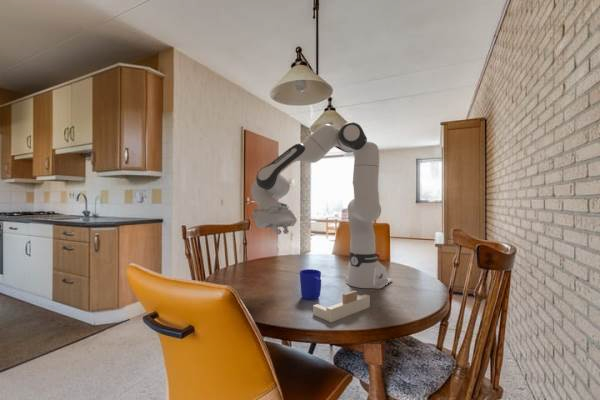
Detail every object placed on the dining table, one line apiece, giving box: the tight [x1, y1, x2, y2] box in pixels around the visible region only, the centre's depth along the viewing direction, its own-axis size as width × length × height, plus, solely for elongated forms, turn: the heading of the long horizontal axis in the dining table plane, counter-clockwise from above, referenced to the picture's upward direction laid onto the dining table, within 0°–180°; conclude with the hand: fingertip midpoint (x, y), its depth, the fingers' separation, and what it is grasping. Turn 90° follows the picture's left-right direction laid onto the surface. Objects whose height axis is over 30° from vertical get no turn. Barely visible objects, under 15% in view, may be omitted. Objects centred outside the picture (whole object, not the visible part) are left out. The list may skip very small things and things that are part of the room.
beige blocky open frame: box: [312, 290, 371, 323], centre depth 100 cm, size 20×8×7 cm, turn 131°
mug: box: [299, 268, 322, 301], centre depth 111 cm, size 8×12×10 cm
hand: (283, 233), depth 125 cm, fingers open, 3 cm apart
